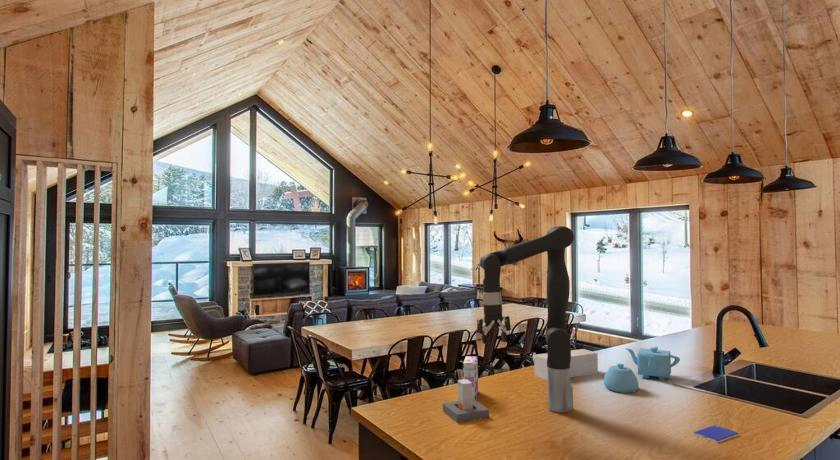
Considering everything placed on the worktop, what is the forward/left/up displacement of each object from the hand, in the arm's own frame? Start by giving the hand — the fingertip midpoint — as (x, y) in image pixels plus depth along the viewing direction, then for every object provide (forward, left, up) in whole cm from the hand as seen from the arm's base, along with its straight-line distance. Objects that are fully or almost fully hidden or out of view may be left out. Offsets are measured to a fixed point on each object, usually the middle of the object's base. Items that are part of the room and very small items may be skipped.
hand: (494, 342), depth 187 cm
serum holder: (+12, -4, -28) cm, 31 cm away
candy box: (0, -23, -28) cm, 36 cm away
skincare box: (+12, -4, -27) cm, 30 cm away
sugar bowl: (-69, -5, -28) cm, 75 cm away
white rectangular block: (-61, -34, -29) cm, 76 cm away
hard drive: (-60, +48, -29) cm, 82 cm away
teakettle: (-98, -14, -28) cm, 103 cm away
